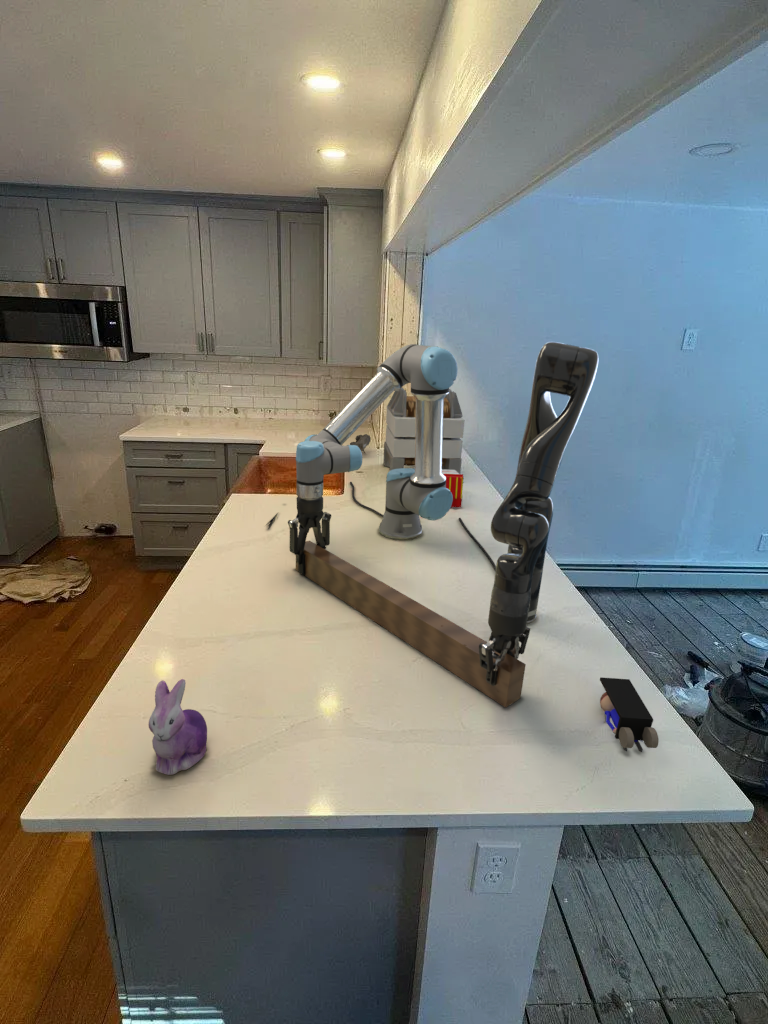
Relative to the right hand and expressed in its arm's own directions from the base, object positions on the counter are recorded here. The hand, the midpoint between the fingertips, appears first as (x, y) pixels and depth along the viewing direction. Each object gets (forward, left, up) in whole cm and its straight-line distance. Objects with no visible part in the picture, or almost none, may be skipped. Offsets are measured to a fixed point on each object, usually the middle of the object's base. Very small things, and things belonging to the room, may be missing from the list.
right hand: (499, 678), depth 117 cm
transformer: (-155, -62, -4) cm, 167 cm away
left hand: (-35, -61, -3) cm, 70 cm away
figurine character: (+3, +24, -4) cm, 25 cm away
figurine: (+39, -49, -4) cm, 63 cm away
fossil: (-176, -102, -4) cm, 204 cm away
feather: (-72, -93, -4) cm, 118 cm away
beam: (-17, -31, -4) cm, 35 cm away
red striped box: (-124, -41, -4) cm, 131 cm away
